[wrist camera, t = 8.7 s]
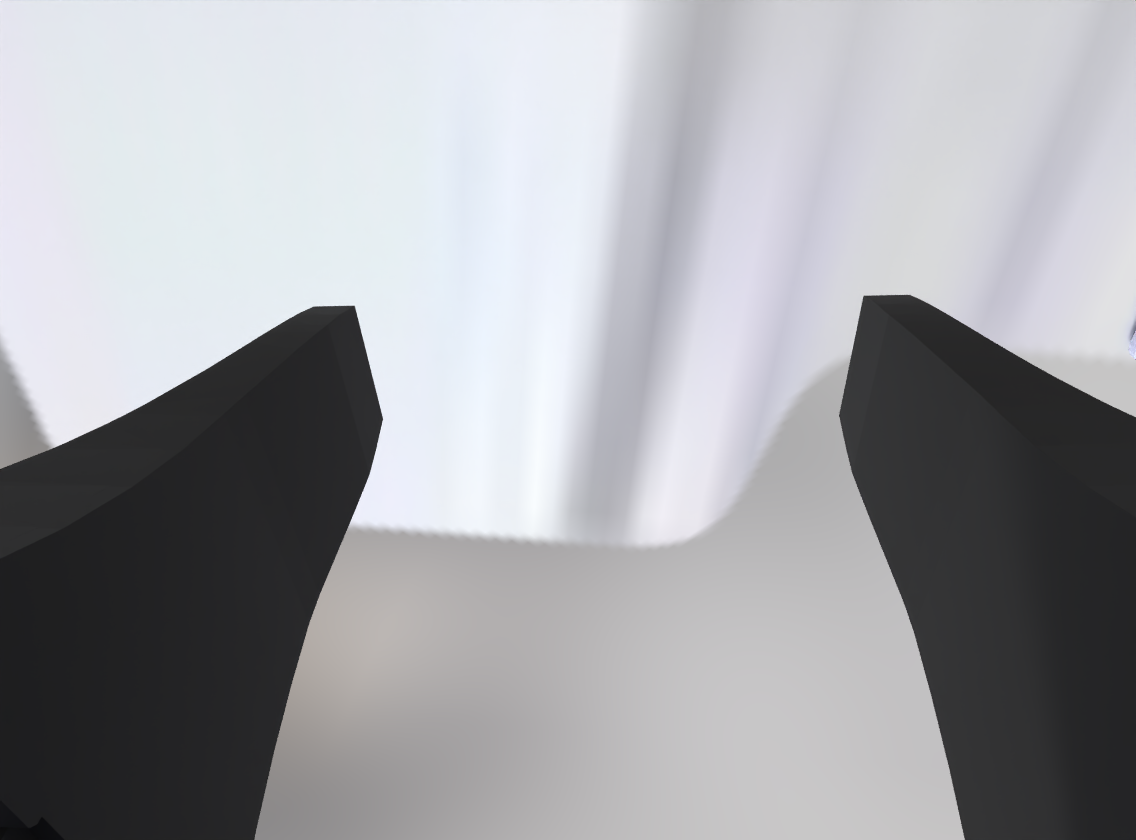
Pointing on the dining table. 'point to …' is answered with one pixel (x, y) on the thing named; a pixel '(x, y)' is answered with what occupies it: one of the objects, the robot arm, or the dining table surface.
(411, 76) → the dining table surface
